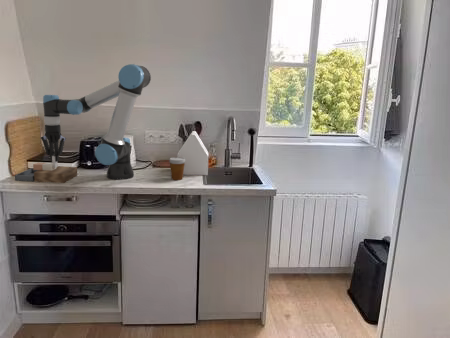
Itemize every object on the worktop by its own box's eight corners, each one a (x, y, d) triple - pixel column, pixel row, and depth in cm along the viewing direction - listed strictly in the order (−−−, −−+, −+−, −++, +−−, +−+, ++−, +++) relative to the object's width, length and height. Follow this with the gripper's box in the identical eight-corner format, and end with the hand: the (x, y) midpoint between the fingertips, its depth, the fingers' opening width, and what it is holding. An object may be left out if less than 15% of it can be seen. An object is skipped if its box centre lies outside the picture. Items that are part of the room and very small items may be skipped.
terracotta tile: (47, 168, 196) (46, 162, 195) (42, 170, 191) (42, 164, 191) (38, 167, 196) (38, 162, 196) (33, 169, 191) (33, 164, 191)
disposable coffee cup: (176, 181, 199) (176, 161, 196) (165, 178, 205) (165, 158, 202) (188, 179, 206) (189, 159, 203) (178, 175, 212) (178, 156, 209)
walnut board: (77, 175, 202) (77, 167, 201) (64, 183, 187) (63, 173, 186) (49, 174, 203) (49, 165, 202) (34, 181, 187) (33, 172, 186)
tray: (49, 174, 203) (48, 169, 202) (33, 181, 187) (33, 176, 186) (31, 173, 203) (31, 168, 202) (15, 180, 187) (14, 175, 187)
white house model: (207, 169, 232) (209, 131, 226) (207, 175, 217) (209, 135, 211) (178, 168, 231) (179, 130, 225) (176, 174, 216) (177, 133, 210)
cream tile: (56, 168, 196) (55, 163, 195) (51, 170, 191) (51, 165, 190) (47, 168, 196) (47, 162, 195) (42, 170, 191) (42, 164, 191)
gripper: (67, 124, 191) (70, 166, 197) (44, 122, 192) (47, 165, 197) (61, 125, 184) (63, 169, 190) (36, 124, 184) (39, 168, 190)
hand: (55, 167), depth 193 cm, fingers closed
